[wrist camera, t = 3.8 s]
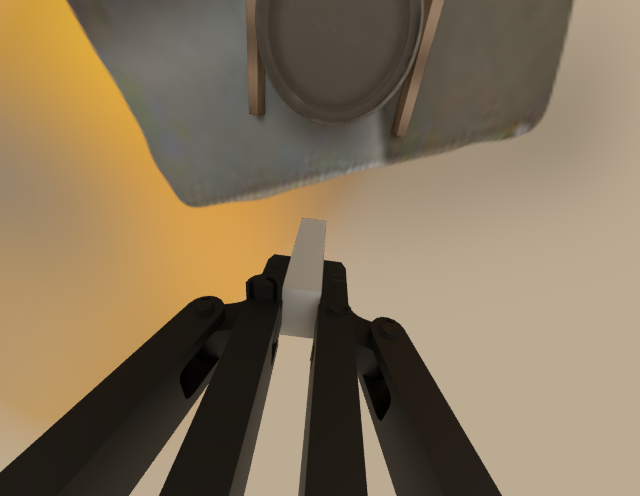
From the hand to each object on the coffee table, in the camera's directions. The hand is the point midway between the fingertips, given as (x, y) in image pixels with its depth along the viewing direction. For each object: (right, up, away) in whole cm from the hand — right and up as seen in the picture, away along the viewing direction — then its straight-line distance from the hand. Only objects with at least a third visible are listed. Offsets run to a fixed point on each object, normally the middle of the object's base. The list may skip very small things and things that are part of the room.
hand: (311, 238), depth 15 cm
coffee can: (+2, +20, +12) cm, 23 cm away
